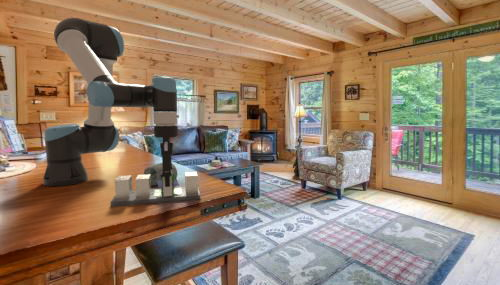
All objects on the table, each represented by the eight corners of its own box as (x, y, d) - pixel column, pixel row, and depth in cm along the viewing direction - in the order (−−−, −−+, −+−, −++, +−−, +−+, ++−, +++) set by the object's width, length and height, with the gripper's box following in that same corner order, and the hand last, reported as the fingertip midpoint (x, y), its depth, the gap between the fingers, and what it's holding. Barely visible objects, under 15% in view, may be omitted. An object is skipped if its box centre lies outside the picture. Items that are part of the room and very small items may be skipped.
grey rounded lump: (152, 181, 98) (150, 156, 102) (139, 188, 103) (138, 164, 107) (183, 182, 108) (181, 160, 112) (170, 189, 113) (168, 167, 117)
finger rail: (118, 195, 92) (117, 174, 91) (197, 189, 99) (197, 170, 98) (110, 206, 81) (109, 182, 80) (200, 199, 88) (199, 177, 87)
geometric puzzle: (181, 188, 87) (177, 167, 91) (160, 191, 84) (157, 169, 88) (178, 196, 93) (174, 175, 96) (157, 199, 90) (155, 177, 93)
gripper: (177, 126, 79) (180, 200, 81) (177, 123, 99) (179, 183, 101) (150, 126, 77) (154, 202, 79) (156, 123, 97) (158, 184, 99)
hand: (168, 191), depth 90 cm, fingers open, 8 cm apart
